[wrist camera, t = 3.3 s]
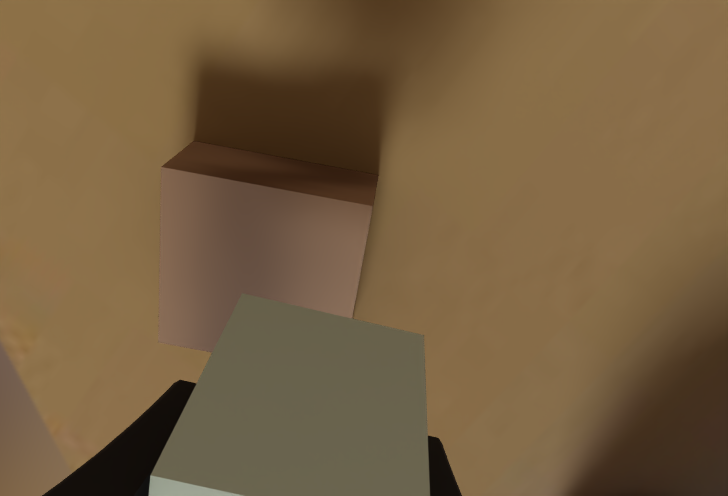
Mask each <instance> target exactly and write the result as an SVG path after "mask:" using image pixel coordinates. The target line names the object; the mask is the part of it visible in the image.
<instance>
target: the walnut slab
mask: <svg viewBox="0 0 728 496" xmlns="http://www.w3.org/2000/svg"><path fill="white" fill-rule="evenodd" d="M378 176H379V175H375V174H370V173H364V172H359V171H353V170H348V169H343V168H337V167H332V166H326V165H321V164H316V163H310V162H305V161H299V160H294V159H289V158H283V157H278V156H272V155H267V154H261V153H256V152H251V151H245V150H240V149H234V148H229V147H224V146H218V145H213V144H207V143H202V142H197V141H193V142H192V143H191V144H190V145H188V146H187V147H186V148H184V149H183V150H182V151H181V152H179V153H178V154H177V155H176V156H174V157H173V158H172V159H171V160H169V161H168V162H167V163H166V164H164V165H163V166H162V167H161V211H160V275H159V340H158V342H159V343H164V344H169V345H175V346H180V347H186V348H191V349H196V350H202V351H207V352H213V350H214V348H215V346H216V344H217V342H218V340H219V338H220V336H221V334H222V332H223V330H224V328H225V326H226V324H227V322H228V321H229V319H230V317H231V315H232V313H233V311H234V309H235V307H236V305H237V303H238V301H239V299H240V297H241V295H242V293H243V294H248V295H252V296H256V297H261V298H265V299H269V300H274V301H278V302H282V303H287V304H291V305H295V306H300V307H304V308H308V309H313V310H317V311H321V312H326V313H330V314H334V315H339V316H343V317H347V318H352V316H353V311H354V305H355V300H356V295H357V289H358V284H359V278H360V273H361V268H362V262H363V257H364V252H365V246H366V241H367V236H368V230H369V225H370V219H371V214H372V209H373V203H374V198H375V192H376V187H377V181H378Z"/></svg>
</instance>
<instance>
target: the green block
mask: <svg viewBox="0 0 728 496" xmlns="http://www.w3.org/2000/svg"><path fill="white" fill-rule="evenodd" d="M149 496H430V483H429V457H428V431H427V405H426V379H425V353H424V335H421V334H416V333H412V332H408V331H404V330H399V329H395V328H391V327H386V326H382V325H378V324H373V323H369V322H365V321H360V320H356V319H352V318H347V317H343V316H339V315H334V314H330V313H326V312H321V311H317V310H313V309H308V308H304V307H300V306H295V305H291V304H287V303H282V302H278V301H274V300H269V299H265V298H261V297H256V296H252V295H248V294H243V293H242V295H241V297H240V299H239V301H238V303H237V305H236V307H235V309H234V311H233V313H232V315H231V317H230V319H229V321H228V322H227V324H226V326H225V328H224V330H223V332H222V334H221V336H220V338H219V340H218V342H217V344H216V346H215V348H214V350H213V352H212V354H211V356H210V358H209V360H208V362H207V364H206V366H205V368H204V370H203V372H202V374H201V376H200V378H199V380H198V382H197V384H196V386H195V388H194V390H193V392H192V394H191V396H190V398H189V400H188V402H187V404H186V406H185V408H184V410H183V412H182V414H181V416H180V418H179V420H178V422H177V424H176V426H175V428H174V430H173V432H172V434H171V436H170V438H169V440H168V441H167V443H166V445H165V447H164V449H163V451H162V453H161V455H160V457H159V459H158V461H157V463H156V465H155V467H154V469H153V471H152V473H151V475H150V486H149Z"/></svg>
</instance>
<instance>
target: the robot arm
mask: <svg viewBox="0 0 728 496" xmlns="http://www.w3.org/2000/svg"><path fill="white" fill-rule="evenodd" d="M195 386H196V383H192V382H188V381H183V380H179V381H177V382H175V383H174V384H173V385H172V386H171V387H170V388H169V389H168V390H167V391H166V392H165V393H164V394H163V395H162V396H161V397H160V398H159V399H158V400H157V401H156V402H155V403H154V404H153V405H152V406H151V407H150V408H149V409H148V410H147V411H145V412H144V413H143V414H142V415H141V416H140V417H139V418H138V419H137V420H136V421H135V422H133V423H132V424H131V425H130V426H129V427H128V428H127V429H126V430H124V431H123V432H122V433H121V434H120V435H119V436H117V437H116V438H115V439H114V440H113V441H112V442H110V443H109V444H108V445H107V446H106V447H105V448H104V449H102V450H101V451H100V452H99V453H97V454H96V455H95V456H94V457H92V458H91V459H90V460H89V461H87V462H86V463H85V464H83V465H82V466H81V467H80V468H78V469H77V470H76V471H74V472H73V473H72V474H71V475H69V476H68V477H67V478H65V479H64V480H63V481H62V482H60V483H59V484H58V485H56V486H55V487H53V488H52V489H51V490H49V491H48V492H47V493H45V494H44V495H42V496H149V486H150V475H151V473H152V471H153V469H154V467H155V465H156V463H157V461H158V459H159V457H160V455H161V453H162V451H163V449H164V447H165V445H166V443H167V441H168V440H169V438H170V436H171V434H172V432H173V430H174V428H175V426H176V424H177V422H178V420H179V418H180V416H181V414H182V412H183V410H184V408H185V406H186V404H187V402H188V400H189V398H190V396H191V394H192V392H193V390H194V388H195ZM428 457H429V483H430V496H462V495H461V492H460V490H459V487H458V485H457V482H456V480H455V477H454V475H453V472H452V470H451V467H450V464H449V462H448V459H447V456H446V453H445V451H444V448H443V445H442V443H441V441H440V440H439V438H436V437H432V436H428Z"/></svg>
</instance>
